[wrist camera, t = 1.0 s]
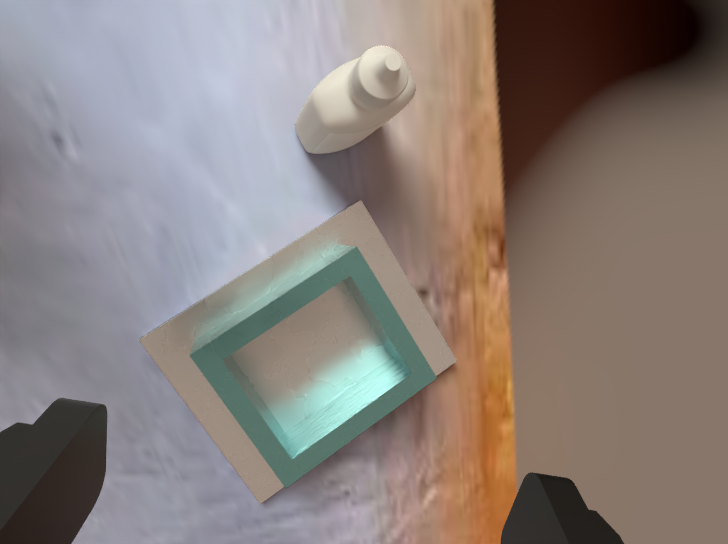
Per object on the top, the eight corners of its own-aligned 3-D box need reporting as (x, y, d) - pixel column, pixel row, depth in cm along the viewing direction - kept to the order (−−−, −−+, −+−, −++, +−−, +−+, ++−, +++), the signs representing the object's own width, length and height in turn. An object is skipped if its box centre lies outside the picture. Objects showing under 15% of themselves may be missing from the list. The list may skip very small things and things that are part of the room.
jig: (259, 496, 33) (263, 540, 28) (142, 336, 31) (124, 356, 26) (451, 357, 36) (484, 376, 31) (357, 201, 33) (378, 195, 28)
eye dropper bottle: (375, 162, 33) (450, 123, 22) (291, 152, 32) (323, 105, 20) (380, 96, 33) (459, 21, 22) (296, 83, 32) (331, -5, 20)
